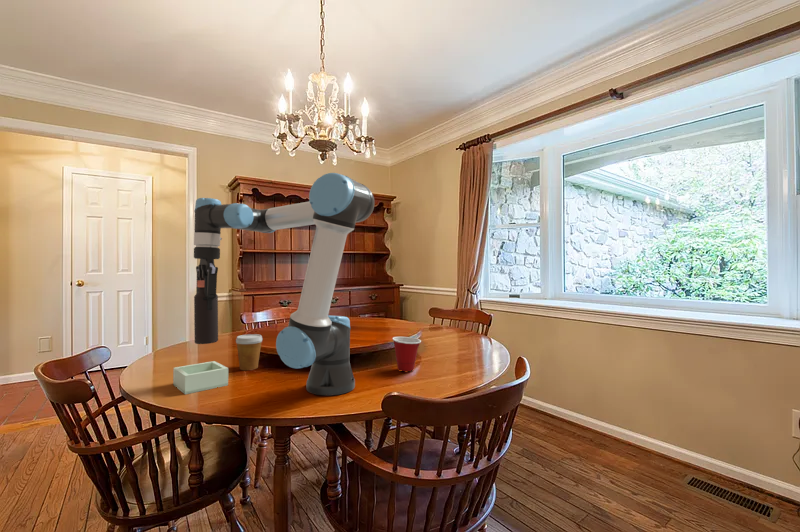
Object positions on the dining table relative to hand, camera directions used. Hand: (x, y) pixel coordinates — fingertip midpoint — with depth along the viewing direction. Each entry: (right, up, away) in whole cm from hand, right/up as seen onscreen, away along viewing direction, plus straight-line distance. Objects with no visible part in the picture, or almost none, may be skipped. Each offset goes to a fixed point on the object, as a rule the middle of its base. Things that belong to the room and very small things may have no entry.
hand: (205, 319), depth 118 cm
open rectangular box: (-1, -21, -1) cm, 21 cm away
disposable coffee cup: (+6, -22, +20) cm, 30 cm away
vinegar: (0, -8, 0) cm, 8 cm away
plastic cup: (+65, -22, +19) cm, 72 cm away
